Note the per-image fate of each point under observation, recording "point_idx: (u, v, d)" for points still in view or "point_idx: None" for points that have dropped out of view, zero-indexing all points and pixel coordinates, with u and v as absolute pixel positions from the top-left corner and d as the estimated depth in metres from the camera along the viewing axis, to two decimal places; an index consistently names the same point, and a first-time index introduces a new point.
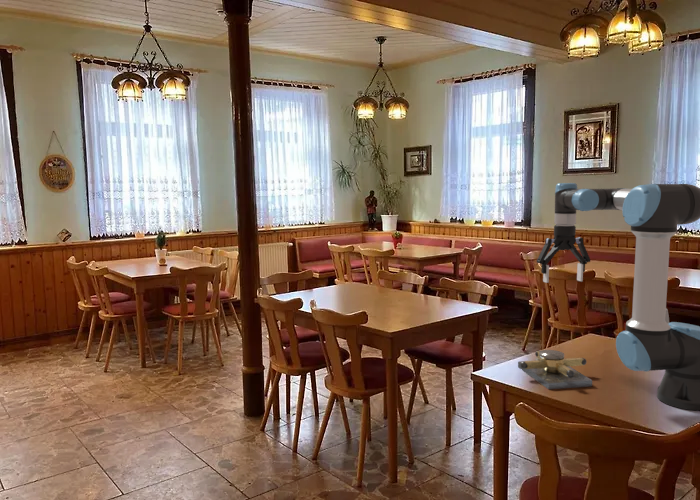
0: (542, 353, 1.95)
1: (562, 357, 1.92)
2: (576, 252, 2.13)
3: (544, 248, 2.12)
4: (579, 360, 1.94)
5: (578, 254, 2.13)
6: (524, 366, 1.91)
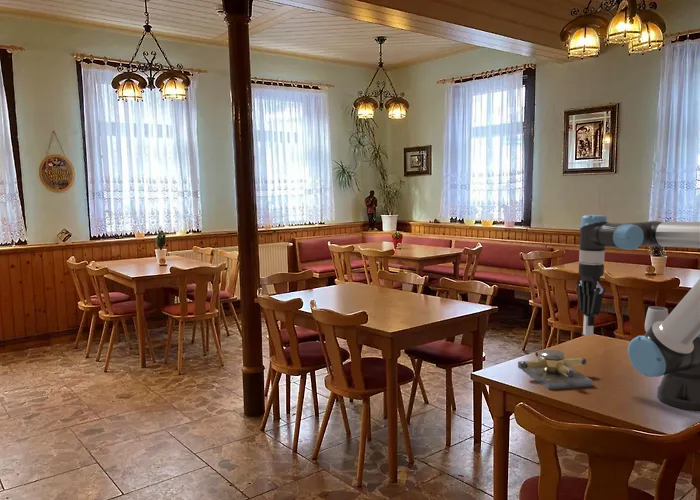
0: (542, 353, 1.95)
1: (562, 357, 1.92)
2: (588, 298, 1.84)
3: None
4: (579, 360, 1.94)
5: (588, 302, 1.84)
6: (524, 366, 1.91)
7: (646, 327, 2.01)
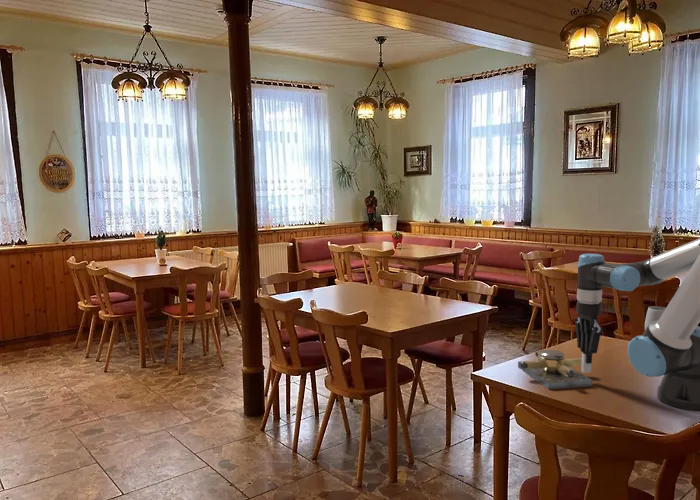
0: (542, 353, 1.95)
1: (562, 357, 1.92)
2: (586, 336, 1.86)
3: None
4: (579, 360, 1.94)
5: (586, 340, 1.86)
6: (524, 366, 1.91)
7: (646, 327, 2.01)
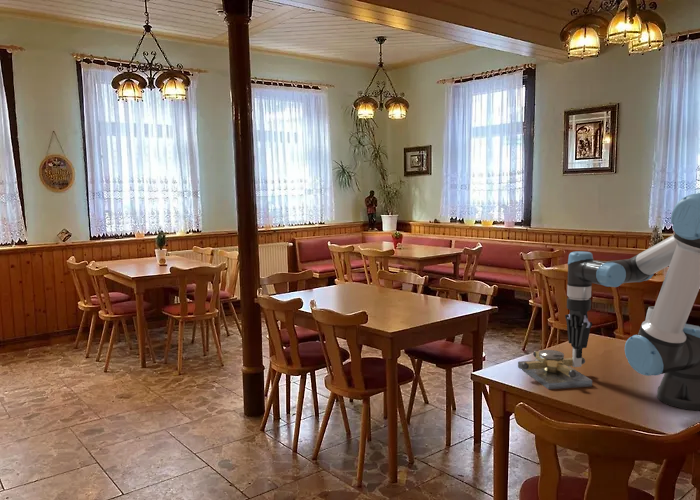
0: (542, 353, 1.95)
1: (562, 357, 1.92)
2: (576, 332, 1.92)
3: None
4: None
5: (576, 335, 1.92)
6: (525, 367, 1.90)
7: None
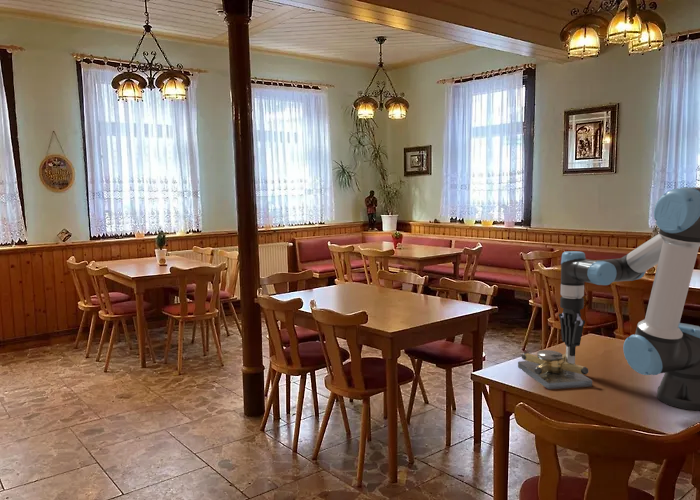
0: (544, 355, 1.93)
1: (562, 355, 1.93)
2: (569, 330, 1.95)
3: None
4: None
5: (569, 333, 1.95)
6: (540, 372, 1.85)
7: None
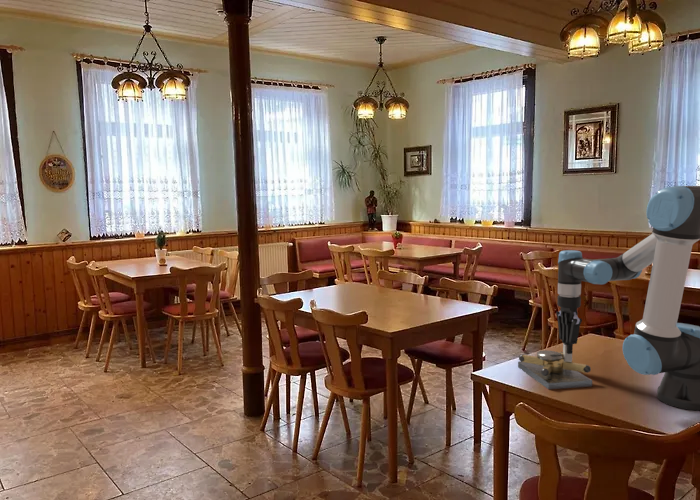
0: (545, 356, 1.92)
1: None
2: (566, 328, 1.98)
3: None
4: (562, 354, 2.00)
5: (566, 331, 1.98)
6: (547, 373, 1.84)
7: None
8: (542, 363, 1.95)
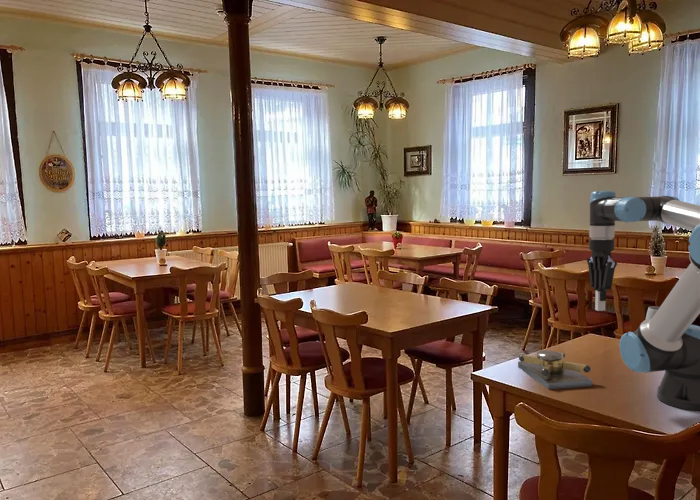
0: (545, 356, 1.92)
1: None
2: (599, 273, 1.86)
3: None
4: (562, 354, 2.01)
5: (600, 277, 1.86)
6: (547, 373, 1.84)
7: None
8: (542, 363, 1.95)
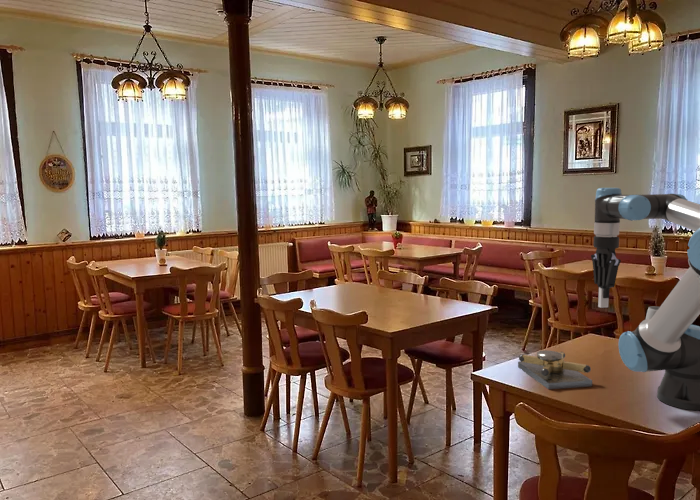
0: (545, 356, 1.92)
1: None
2: (603, 270, 1.86)
3: None
4: (562, 354, 2.01)
5: (603, 274, 1.86)
6: (547, 373, 1.84)
7: None
8: (542, 363, 1.95)
